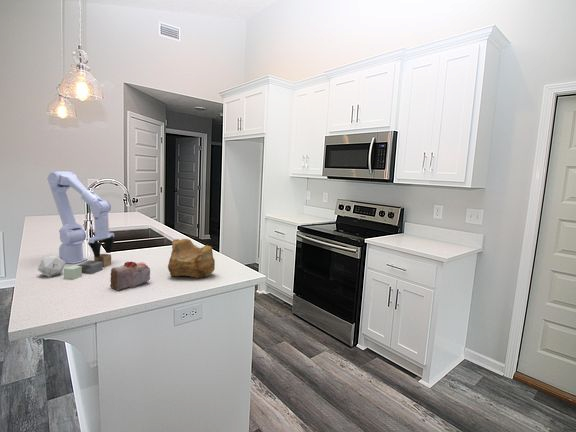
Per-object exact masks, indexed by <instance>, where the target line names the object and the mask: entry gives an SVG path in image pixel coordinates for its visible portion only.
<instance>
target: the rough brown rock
mask: <svg viewBox="0 0 576 432" xmlns="http://www.w3.org/2000/svg"><path fill="white" fill-rule="evenodd" d="M171 242H172V243H171V246H172V247H171V249H172V250H171V253H170V258H169V259H168V260H169V261H168V265H167V269H168V272H169V273H170V276H171V277H180V276H187V277H190V278H194V279H201V278H202V277H207V276H209V275H211V274H212V273H214V271H215V266H216V264H215V258H214V252H213V247H212V246H211V245H204V246H202V247H199V246H197V245H195V244H194V242H192V241H191V239H189V238H182V239H178V238H177V239H176V238H175V239H173V240H171Z"/></svg>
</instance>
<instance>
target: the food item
mask: <svg viewBox="0 0 576 432" xmlns="http://www.w3.org/2000/svg"><path fill="white" fill-rule="evenodd" d="M150 280H151V268H150V267H149V265H148V264H146V263H145V262H143V261H141V262H134V261H126V262H124V264H123V265H120V266H115V267H112V268H111V270H110V285H109V286H110V288H111V289H114V290H115V291H119V290H124V289H127V288H135V287H137V286H140V285H144V284H147V282H149V281H150Z"/></svg>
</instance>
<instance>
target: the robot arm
mask: <svg viewBox="0 0 576 432" xmlns="http://www.w3.org/2000/svg"><path fill="white" fill-rule="evenodd" d="M46 178H47V181H48V185H49V187H50V192H51V194H52V197H53V200H54V203H55V206H56V209H57V212H58V214H59V217H60V221H61V222H62V227H60V229H59V231H58V232H59V239H60V242H61V244H60V245H59V247H58V255H59V256H58V257H59V258H60V259H62V260H63V261H65V262H66V263H65V264H76V265H77V264H80V263H83V262H86V261H88V258H84V251H83V243H85V242H84V241H85V240H86V238H87V233H86V231H85V229H83V225H81V224H80V223H77V222H76V218H75V216H74V215H75V214H74V213H73V210H72V207H71V204H70V203H71V202H70V200H69V198H68V195H67V191H68V190H69V189H70V188H72V189H73V190H74V191H76V192H77V193H78V194H79V195H81V196H80V197H81V200H82V201H83V202H85V203H86V204H87V205H88V206H89V208H90V211H91V213H92V217H93V220H94V222H93V223H94V236H92V237H90V238H88V242H87V244H88V245H89V247H90V249H91V251H92V253H93V257H94V256H95V257H100V254H101V246H102V244H104V249H105V254H111V252H112V249H113V245H114V243H115V241H116V237H115V233H114V232H110V231H109V230H110V229H109V228H110V227H109V225H110V224H109V212H110V211H111V210H112V209H111V208H112V205H111V203H110V202H109V200H106V199H105V200H104V199H102V198H101V197H100V196H99V195H98V194H96V191H94V190H90V189H89V190H88V189H87V188H86V186H84V184H82V182H81V181H80V180H79V179H78V176H77V174H75V173H74V172H73V171H71V170H68V171H62V170H61V171H60V170H59V171H58V170H57V171H56V170H51V171H50V172H49V174H48V176H47V177H46ZM99 241H102V242H99Z"/></svg>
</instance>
